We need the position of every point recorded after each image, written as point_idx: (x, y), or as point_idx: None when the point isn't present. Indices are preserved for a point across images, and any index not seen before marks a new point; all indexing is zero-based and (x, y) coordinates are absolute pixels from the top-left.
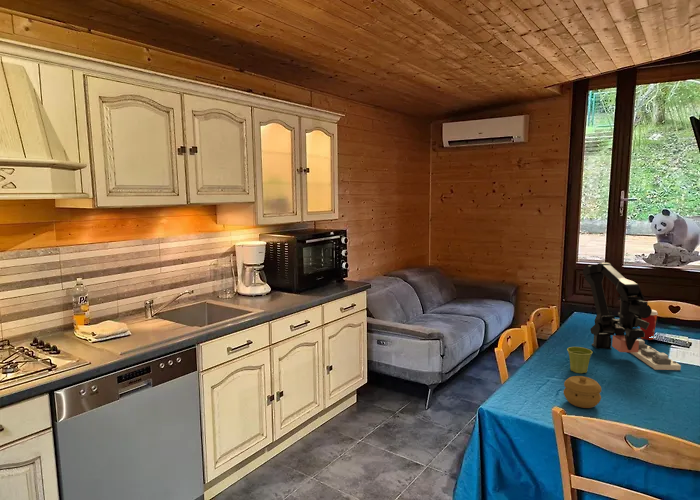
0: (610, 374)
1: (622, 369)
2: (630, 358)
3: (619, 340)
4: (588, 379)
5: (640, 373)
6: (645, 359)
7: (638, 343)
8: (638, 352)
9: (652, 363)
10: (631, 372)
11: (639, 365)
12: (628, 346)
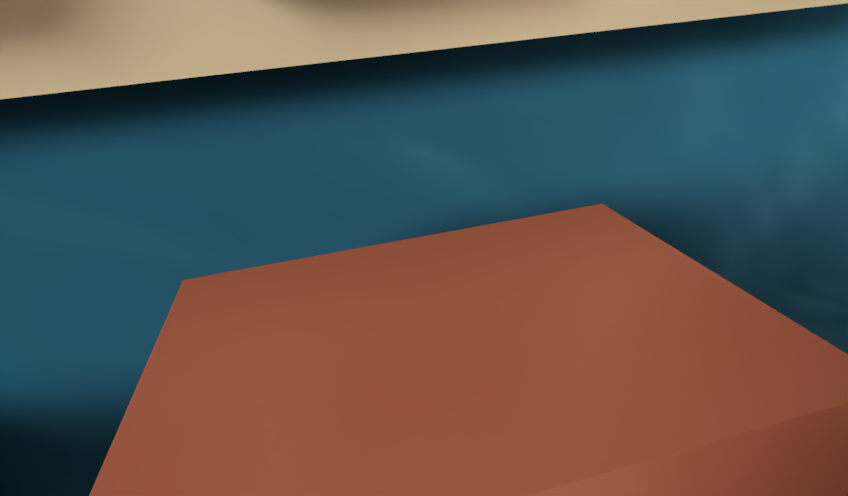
0: None
1: None
2: (347, 198)
3: None
4: None
5: (837, 236)
6: (576, 33)
7: (789, 332)
8: (197, 26)
9: (795, 8)
10: (794, 310)
11: (632, 164)
12: None
